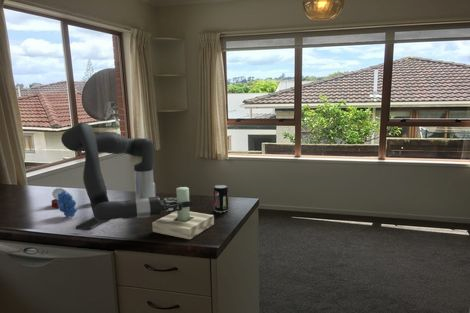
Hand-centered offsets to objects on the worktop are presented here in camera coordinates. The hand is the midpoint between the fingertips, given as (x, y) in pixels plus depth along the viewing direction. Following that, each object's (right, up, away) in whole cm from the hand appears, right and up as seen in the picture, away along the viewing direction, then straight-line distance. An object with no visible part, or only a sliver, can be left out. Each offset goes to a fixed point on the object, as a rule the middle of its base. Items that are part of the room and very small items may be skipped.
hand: (189, 201), depth 149 cm
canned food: (-69, -6, +35) cm, 78 cm away
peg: (-2, -9, +1) cm, 9 cm away
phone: (-42, -11, +8) cm, 44 cm away
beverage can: (+12, -7, +22) cm, 26 cm away
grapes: (-58, -9, +16) cm, 61 cm away
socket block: (-2, -11, +1) cm, 11 cm away
